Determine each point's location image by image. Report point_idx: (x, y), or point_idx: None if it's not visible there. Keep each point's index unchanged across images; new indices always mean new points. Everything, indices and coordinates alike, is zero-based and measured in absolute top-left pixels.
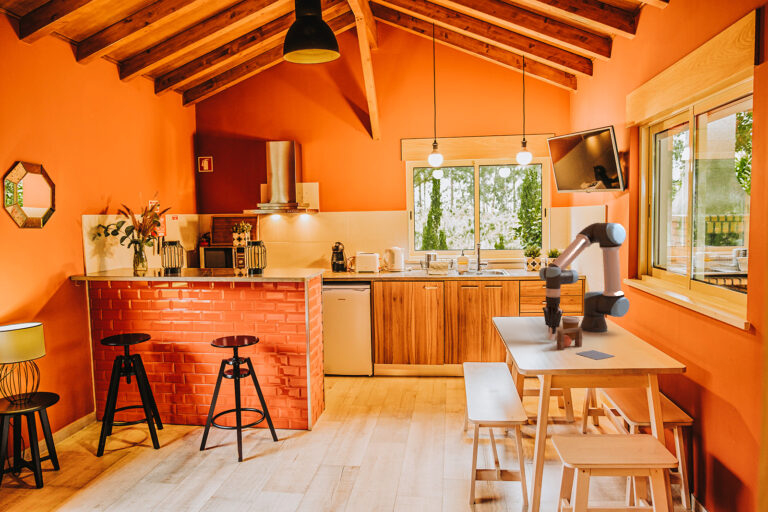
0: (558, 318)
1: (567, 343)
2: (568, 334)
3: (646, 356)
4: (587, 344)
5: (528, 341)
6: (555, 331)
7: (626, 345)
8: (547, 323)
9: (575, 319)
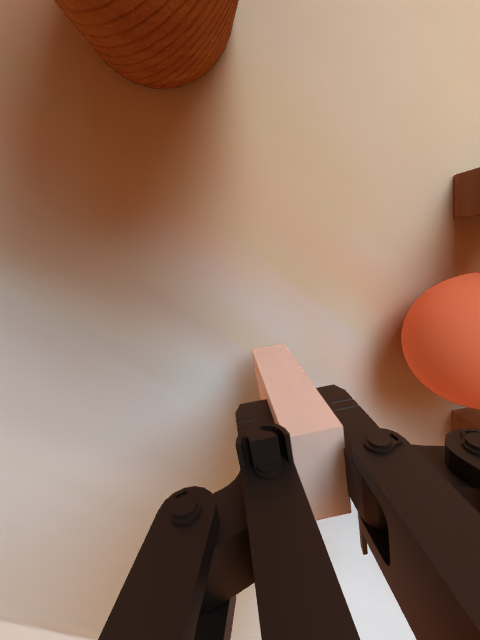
0: None
1: None
2: (209, 30)
3: None
4: (476, 7)
5: (145, 520)
6: (356, 410)
7: None
8: (231, 611)
9: None
